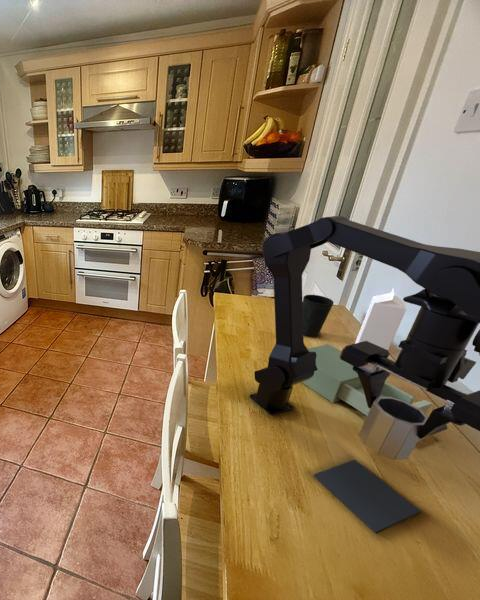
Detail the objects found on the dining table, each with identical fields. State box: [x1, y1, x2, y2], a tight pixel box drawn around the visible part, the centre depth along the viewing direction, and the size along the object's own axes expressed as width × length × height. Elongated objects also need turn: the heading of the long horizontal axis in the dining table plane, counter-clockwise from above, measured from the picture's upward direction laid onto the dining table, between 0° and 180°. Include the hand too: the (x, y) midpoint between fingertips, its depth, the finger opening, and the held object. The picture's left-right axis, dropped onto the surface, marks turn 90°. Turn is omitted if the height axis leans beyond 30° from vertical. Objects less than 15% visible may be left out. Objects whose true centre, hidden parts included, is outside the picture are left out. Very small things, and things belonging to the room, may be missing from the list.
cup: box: [302, 294, 335, 338], centre depth 101 cm, size 8×8×12 cm
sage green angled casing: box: [301, 343, 359, 404], centre depth 80 cm, size 13×13×6 cm
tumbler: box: [358, 397, 429, 461], centre depth 53 cm, size 6×7×8 cm
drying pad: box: [313, 459, 421, 534], centre depth 53 cm, size 10×10×1 cm
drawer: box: [337, 379, 448, 437], centre depth 68 cm, size 16×11×4 cm
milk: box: [354, 287, 407, 351], centre depth 82 cm, size 6×6×22 cm
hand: (394, 421), depth 52 cm, fingers closed on tumbler, 7 cm apart
